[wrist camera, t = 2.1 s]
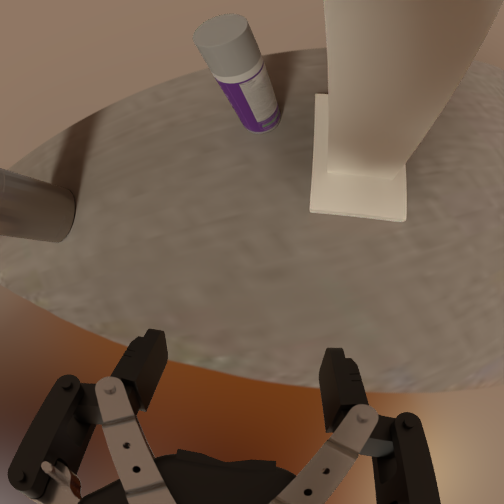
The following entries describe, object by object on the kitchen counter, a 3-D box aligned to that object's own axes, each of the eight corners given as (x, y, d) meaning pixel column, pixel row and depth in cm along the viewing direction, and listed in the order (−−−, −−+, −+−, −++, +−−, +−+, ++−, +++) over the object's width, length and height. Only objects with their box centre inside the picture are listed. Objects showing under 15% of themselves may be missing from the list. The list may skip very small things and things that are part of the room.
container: (234, 118, 31) (181, 36, 16) (263, 96, 30) (226, 7, 16) (258, 141, 30) (211, 56, 15) (289, 117, 29) (262, 23, 15)
